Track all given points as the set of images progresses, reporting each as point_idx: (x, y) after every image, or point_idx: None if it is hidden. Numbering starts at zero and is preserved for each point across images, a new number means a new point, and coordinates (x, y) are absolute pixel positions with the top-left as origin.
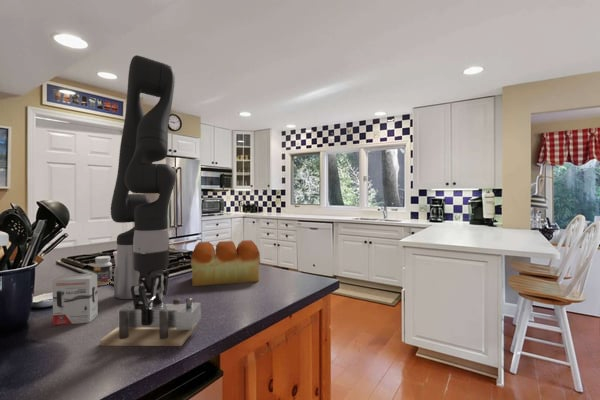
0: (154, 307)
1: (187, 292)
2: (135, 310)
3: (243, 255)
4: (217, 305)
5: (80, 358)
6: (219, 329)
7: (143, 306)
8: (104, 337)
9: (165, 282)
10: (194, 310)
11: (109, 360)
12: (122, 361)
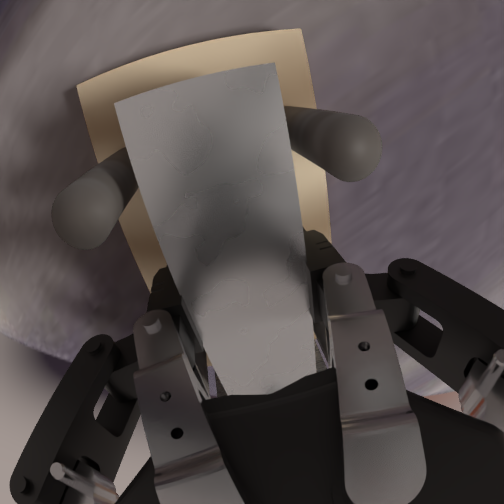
0: (244, 326)
1: None
2: (162, 246)
3: None
4: (466, 278)
5: (7, 120)
6: None
7: (107, 399)
8: (100, 80)
9: (443, 381)
10: None
11: (34, 226)
12: (51, 268)
